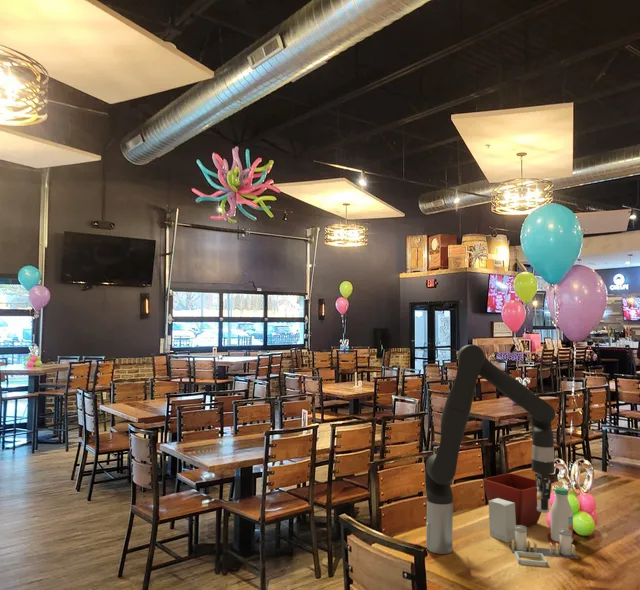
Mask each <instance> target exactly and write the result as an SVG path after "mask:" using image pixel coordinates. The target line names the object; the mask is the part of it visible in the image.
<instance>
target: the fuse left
mask: <svg viewBox="0 0 640 590" xmlns="http://www.w3.org/2000/svg"><path fill="white" fill-rule="evenodd" d="M527 533H528V527H525V526H522V525H516V526H515V540H514V546H515V550H516V551H522V552H527V541H528V540H527V539H528V538H527V536H528V535H527Z"/></svg>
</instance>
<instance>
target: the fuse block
mask: <svg viewBox="0 0 640 590" xmlns="http://www.w3.org/2000/svg"><path fill="white" fill-rule="evenodd" d="M552 543H553V542H549V548H544V547H538V545H537V542H536V540H534V541H533V546H531V542H530V540H527V552H534V553H542V554H543V555H544V557H553V558H564V559H577V560H579V559H580V558H579V556H578V555H577V554H576V545H574V544H573V543H571V551H572V555H571V556H564V555H561V554H560V553H559V549H560V544H558V543H559V542H556V543H555V548H554V545H553V544H552ZM508 546H509V548H510V551H511V554H514V551H516V550H515V540H512V541H511V545H508Z"/></svg>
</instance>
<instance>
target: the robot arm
mask: <svg viewBox="0 0 640 590" xmlns="http://www.w3.org/2000/svg"><path fill="white" fill-rule="evenodd" d="M456 357H457V362H458V364H457V369H456V375H455V379H454V381H453V383H452V386H451V389H450V390H449V393H448V395H447V396H446V397H447V398H446V400H445V404H444V406H443V411H442V414H441V419H440V438H439V439H440V441H439V445H438V449H437V452H436V453H435V454H432V455H431V456H429V458H428V459H427V460H426V462H425V469H424V470H425V471H424V472H425V476H424V477H425V478H424V479H425V492H426V526H425V527H426V528H425V531H426V532H425V534H426V535H425V537H426V538H425V539H426V540H425V547H427V549H428V550H429V551H428V552H431V553H434V554H439V555H448V554H450V553H452V552H453V546H454V545H453V541H454V540H453V533H454V532H453V531H454V530H453V529H454V525H453V524H454V523H453V522H454V516H453V515H454V501H453V500H454V495H453V491H452V487H451V482H452V481H453V479H454V478H455V476H456V472H457V464H458V459H459V453H460V448H461V445H462V442H463V438H464V436H465V435H464V434H465V431H466V427H467V424H468V421H469V418H470V414H471V410H472V404H473V400H474V395H475V388H476V384H477V382H478V378H479V377H481V378H483V379H484V380H485V381H487V382H488V383H490V384H491V385H492V386H493V387H495V388H496V390H497V391H500V393H502V394H503V395H504V396H505V397H506V398H508V399H509V400H511V401H512V402H513V403H514V404H516V405H517V406H518V407H519V406H520V407H521V408H523V410H525V411H526V412H527V413H528V414H529V415H530V416H531V424H532V426H531V427H532V447H531V471H532V472H534V473H535V474H534V477H535V479H534V480H536V491H537V487H538V486H539V491H540V492H541V509H542V510H548V499H549V500H550V499H551V494H552V492H551V491H552V483H551V478H550V477H549V475H553V474H555V448H554V447H555V445H554V444H555V442H554V441H555V438H554V431H553V429H552V422H553V421H554V420H555V418H556V411H555V408H554V406H553V405H551V404H550V403H548V402H547V401H545V400H544V399H543V398H541V397H540V396H538V395H537V394H536V393H534V392H533V391H532V390H531V389H529V388H528V387H527V386H526V385H524V384H523V383H522V382H521V381H519V380H518V379H516V378H514V377H513V376H512V375H509V374H508V373H507V372H505V371H503V370H502V369H500V368H499V367H497V366H496V365H495V364H494V363H492V362H491V361H490V360H489V359H488V358H487V357H486V356H485V352H484V350H483V349H482V348H481V347H480V346H478V345H476V344H466V345H463V346H462V347H461V348H459V350H458V352H457V355H456ZM541 488H543V489H541ZM545 493H546V495H544V494H545ZM427 549H426V550H427Z"/></svg>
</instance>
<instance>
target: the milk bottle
mask: <svg viewBox="0 0 640 590" xmlns="http://www.w3.org/2000/svg"><path fill="white" fill-rule="evenodd" d="M554 494H555V498H554V499H553V503H552V505H551V508H550V539H551V540H552V541H555V542H556V543H560V533H559V529H561V528H564V529H569V530H571V531H572V535H571V543H573V542H574V514H573V509H572V507H571V504H570V502H569V498H568V497H569V490H568V488H565V487H555V488H554Z"/></svg>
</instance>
